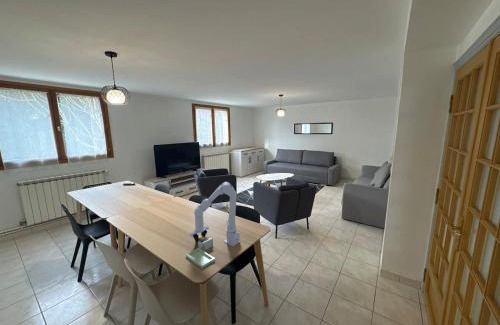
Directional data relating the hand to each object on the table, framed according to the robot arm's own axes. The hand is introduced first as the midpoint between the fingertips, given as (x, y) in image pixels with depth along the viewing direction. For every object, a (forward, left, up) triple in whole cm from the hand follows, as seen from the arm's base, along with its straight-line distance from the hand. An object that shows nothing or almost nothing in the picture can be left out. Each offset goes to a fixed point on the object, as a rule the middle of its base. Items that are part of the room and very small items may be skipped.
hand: (200, 241), depth 142 cm
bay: (-7, 0, -1) cm, 7 cm away
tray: (-15, +10, -1) cm, 18 cm away
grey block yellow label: (-2, 0, -2) cm, 2 cm away
